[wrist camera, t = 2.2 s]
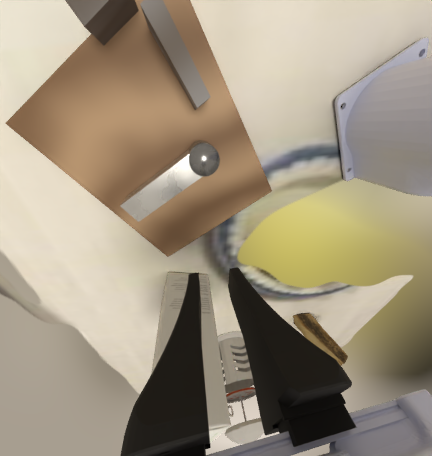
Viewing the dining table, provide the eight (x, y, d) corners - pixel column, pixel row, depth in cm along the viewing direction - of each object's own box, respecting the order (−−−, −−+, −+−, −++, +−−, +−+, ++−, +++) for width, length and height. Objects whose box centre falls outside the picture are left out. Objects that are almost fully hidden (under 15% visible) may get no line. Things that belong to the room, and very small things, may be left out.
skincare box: (197, 304, 29) (208, 447, 16) (159, 304, 27) (137, 466, 14) (209, 272, 25) (237, 429, 12) (165, 269, 23) (143, 451, 10)
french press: (229, 352, 44) (271, 559, 23) (195, 347, 38) (209, 609, 18) (255, 335, 40) (331, 556, 20) (222, 326, 35) (278, 617, 14)
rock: (323, 337, 43) (345, 323, 37) (323, 375, 37) (350, 366, 31) (282, 316, 47) (296, 300, 40) (276, 347, 41) (292, 334, 34)
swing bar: (204, 134, 14) (208, 136, 12) (218, 158, 15) (225, 165, 13) (126, 193, 16) (116, 205, 13) (145, 211, 17) (139, 225, 14)
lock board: (268, 188, 19) (283, 199, 16) (168, 251, 21) (166, 271, 19) (167, -41, 10) (160, -111, 7) (12, 119, 12) (-41, 117, 9)
